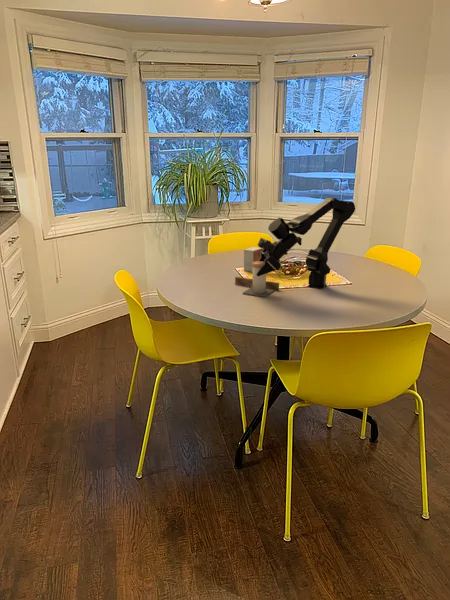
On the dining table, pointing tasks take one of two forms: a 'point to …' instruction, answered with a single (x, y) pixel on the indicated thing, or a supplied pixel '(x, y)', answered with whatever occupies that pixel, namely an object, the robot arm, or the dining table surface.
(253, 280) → the canister
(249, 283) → the wall
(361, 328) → the dining table surface
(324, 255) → the robot arm
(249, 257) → the small box
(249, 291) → the mat
